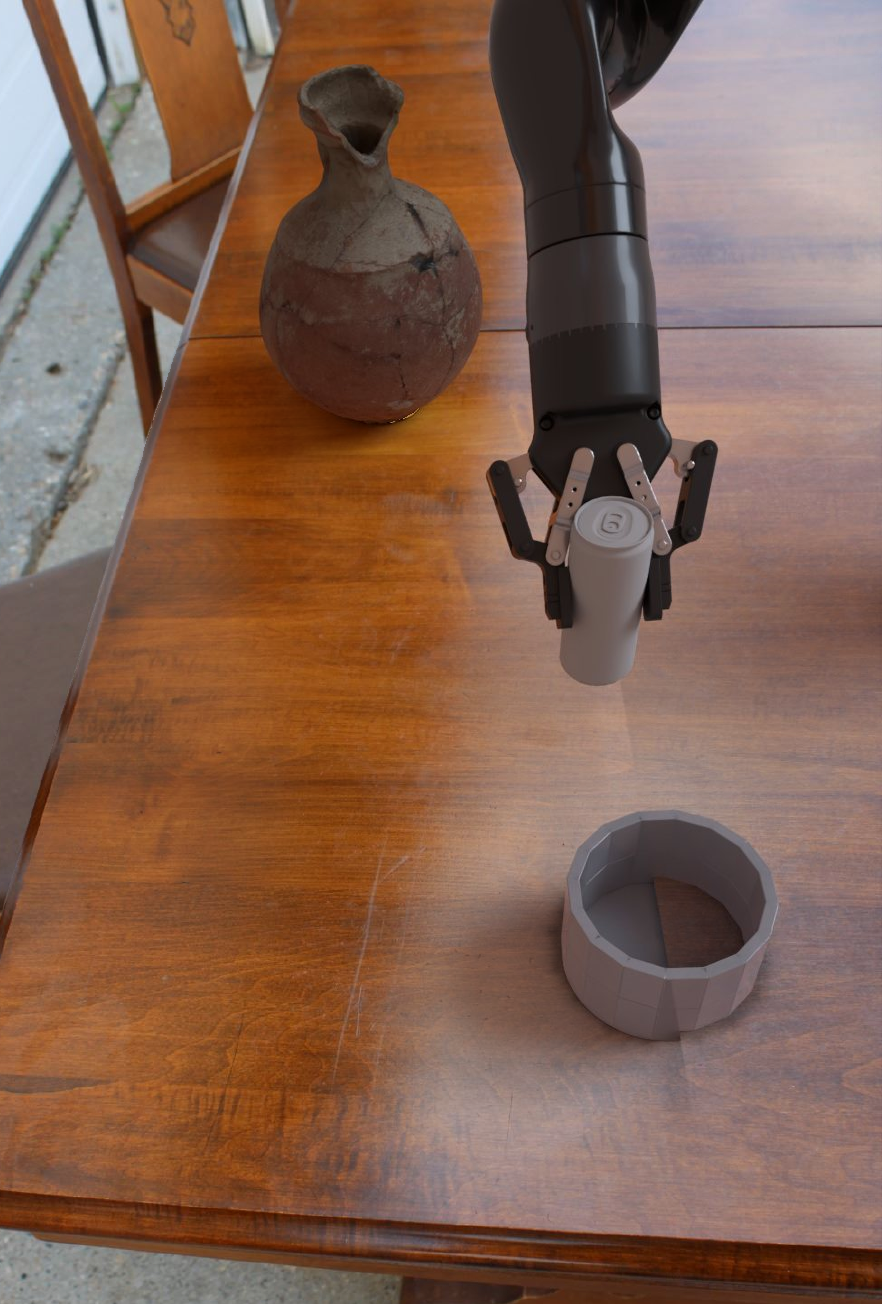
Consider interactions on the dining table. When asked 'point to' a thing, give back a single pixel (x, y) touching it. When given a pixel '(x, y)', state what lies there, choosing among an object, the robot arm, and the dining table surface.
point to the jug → (367, 267)
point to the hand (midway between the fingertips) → (609, 623)
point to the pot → (629, 927)
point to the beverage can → (606, 588)
